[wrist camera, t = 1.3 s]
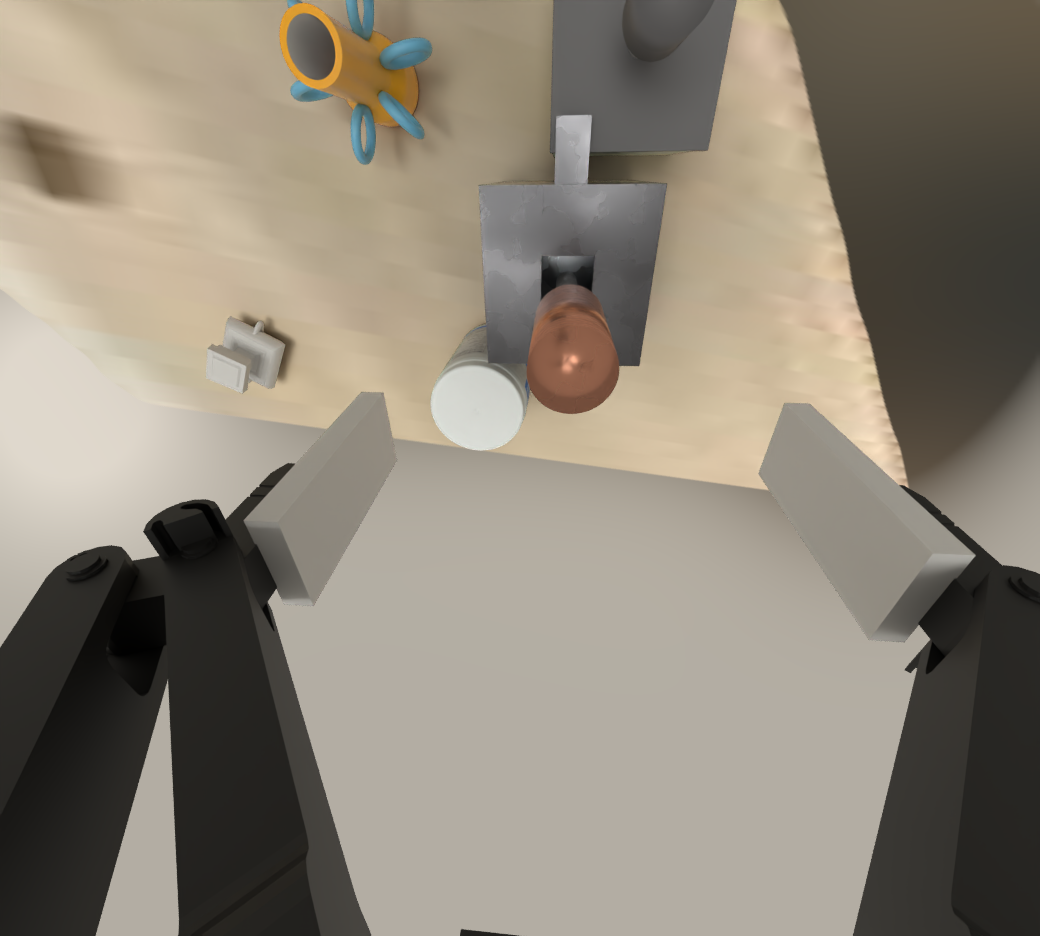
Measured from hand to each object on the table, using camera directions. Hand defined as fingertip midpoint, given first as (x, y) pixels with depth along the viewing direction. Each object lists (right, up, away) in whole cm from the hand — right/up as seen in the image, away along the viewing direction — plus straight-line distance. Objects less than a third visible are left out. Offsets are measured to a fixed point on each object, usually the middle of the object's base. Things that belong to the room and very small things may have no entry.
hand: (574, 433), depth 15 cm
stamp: (-35, +15, +41) cm, 56 cm away
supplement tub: (-5, +13, +39) cm, 42 cm away
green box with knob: (+7, +34, +24) cm, 42 cm away
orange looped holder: (-14, +34, +25) cm, 45 cm away
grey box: (+3, +24, +31) cm, 39 cm away
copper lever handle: (+2, +14, +20) cm, 24 cm away
